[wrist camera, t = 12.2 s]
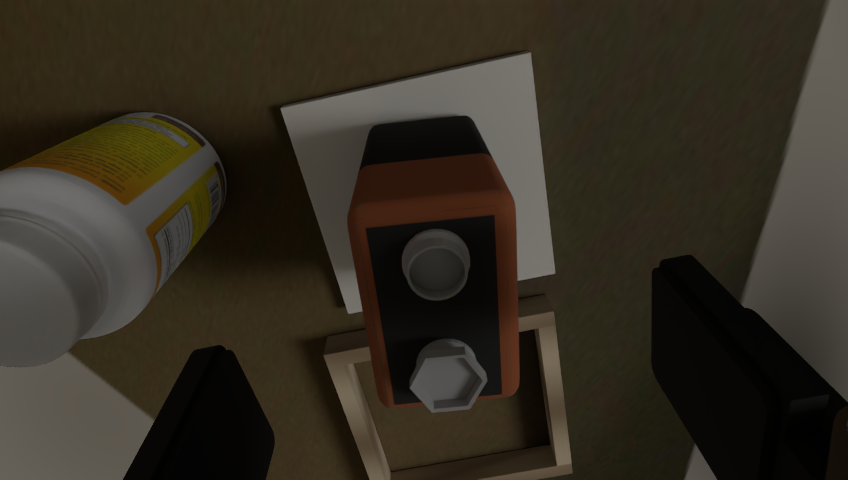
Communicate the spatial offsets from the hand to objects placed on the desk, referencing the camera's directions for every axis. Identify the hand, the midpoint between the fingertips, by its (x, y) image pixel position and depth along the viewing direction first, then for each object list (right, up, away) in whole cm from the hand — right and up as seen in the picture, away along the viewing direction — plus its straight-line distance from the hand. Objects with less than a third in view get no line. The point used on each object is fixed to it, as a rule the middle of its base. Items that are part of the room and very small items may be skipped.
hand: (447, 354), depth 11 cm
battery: (0, +4, +11) cm, 12 cm away
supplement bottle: (-12, +5, +11) cm, 17 cm away
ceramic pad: (0, +5, +11) cm, 12 cm away
